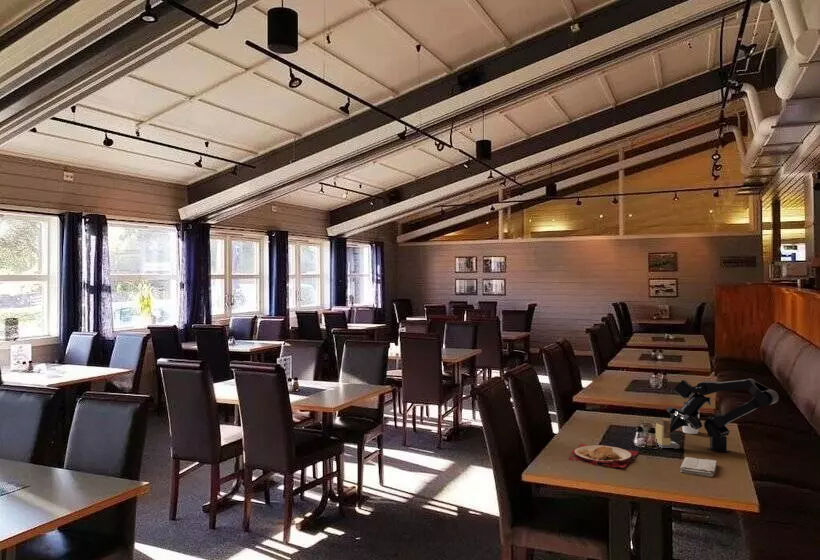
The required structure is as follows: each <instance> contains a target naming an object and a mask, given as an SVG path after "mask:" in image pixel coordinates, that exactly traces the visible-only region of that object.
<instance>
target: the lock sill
mask: <svg viewBox="0 0 820 560" xmlns="http://www.w3.org/2000/svg"><path fill="white" fill-rule="evenodd" d="M656 439H657V443H658V445H659V447H658V448H660V447H661V448H660V449H662V448H674V449H680V444H678V443H677V442H675V441H673V440H671V437H670V438H664V426H662V425H660V424H659V422H658V423H657V422H656V423H655V440H656Z"/></svg>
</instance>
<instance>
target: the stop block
mask: <svg viewBox="0 0 820 560" xmlns="http://www.w3.org/2000/svg"><path fill="white" fill-rule="evenodd" d="M658 418H659V417H658ZM670 423H671V419H668V418H665V417H664V418H663V417H662V418H661V417H660V418H659V419H658V424H660V425H662V426H664V438H670V439H671V432H670Z"/></svg>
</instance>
